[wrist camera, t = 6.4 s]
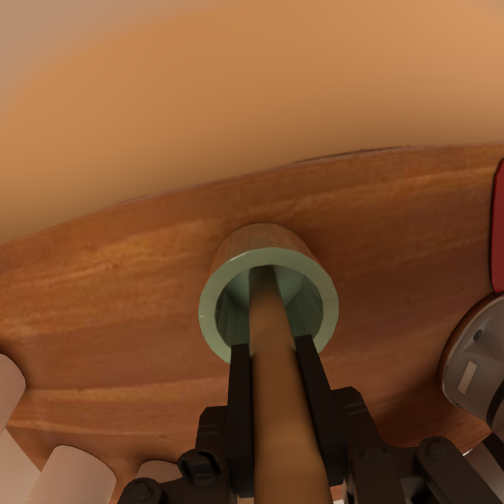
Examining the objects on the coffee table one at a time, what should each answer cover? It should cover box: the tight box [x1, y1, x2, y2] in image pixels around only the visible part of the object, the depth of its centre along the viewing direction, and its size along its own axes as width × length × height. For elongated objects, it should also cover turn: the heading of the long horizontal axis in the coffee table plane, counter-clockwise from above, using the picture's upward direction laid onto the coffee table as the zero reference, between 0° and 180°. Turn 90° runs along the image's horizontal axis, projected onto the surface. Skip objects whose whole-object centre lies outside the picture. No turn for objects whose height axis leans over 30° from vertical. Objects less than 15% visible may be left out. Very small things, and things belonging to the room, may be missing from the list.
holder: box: [198, 223, 339, 364], centre depth 22 cm, size 8×8×8 cm
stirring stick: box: [248, 265, 333, 504], centre depth 15 cm, size 2×2×21 cm
